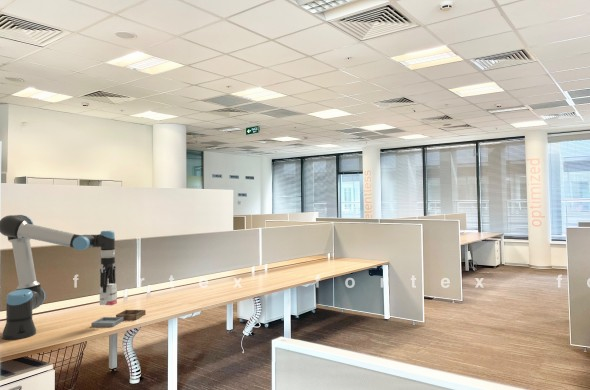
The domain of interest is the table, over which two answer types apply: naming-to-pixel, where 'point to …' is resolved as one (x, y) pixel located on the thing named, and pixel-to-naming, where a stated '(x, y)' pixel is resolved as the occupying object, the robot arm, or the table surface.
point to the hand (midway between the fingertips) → (108, 296)
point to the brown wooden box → (132, 314)
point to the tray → (107, 322)
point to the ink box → (109, 295)
